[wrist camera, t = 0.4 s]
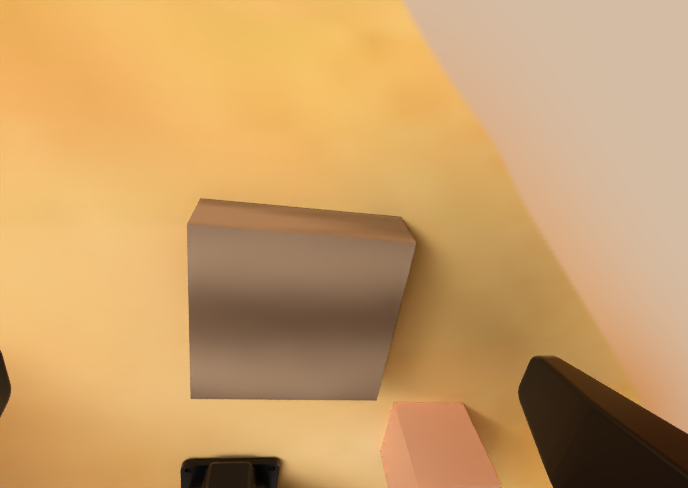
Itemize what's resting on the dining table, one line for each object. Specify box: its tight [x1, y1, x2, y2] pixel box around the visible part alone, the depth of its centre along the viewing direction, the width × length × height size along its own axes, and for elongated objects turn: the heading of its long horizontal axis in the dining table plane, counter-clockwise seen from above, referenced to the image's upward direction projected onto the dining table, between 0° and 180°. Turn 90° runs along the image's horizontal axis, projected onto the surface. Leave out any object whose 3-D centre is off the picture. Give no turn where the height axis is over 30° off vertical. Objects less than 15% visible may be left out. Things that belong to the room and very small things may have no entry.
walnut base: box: [187, 199, 416, 400], centre depth 21 cm, size 10×10×3 cm
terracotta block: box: [380, 402, 502, 488], centre depth 27 cm, size 5×5×6 cm
